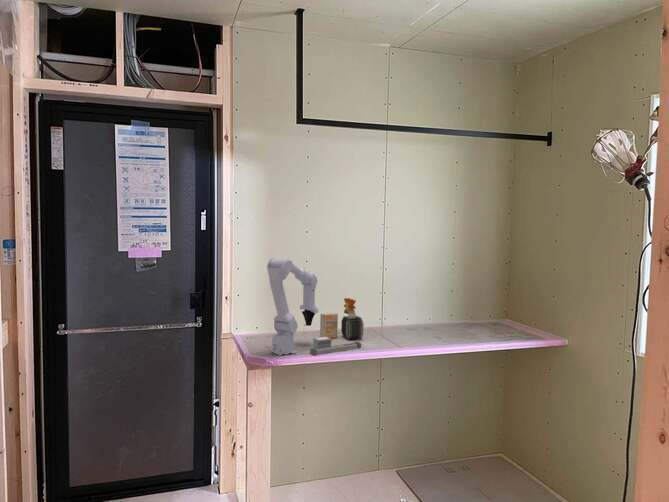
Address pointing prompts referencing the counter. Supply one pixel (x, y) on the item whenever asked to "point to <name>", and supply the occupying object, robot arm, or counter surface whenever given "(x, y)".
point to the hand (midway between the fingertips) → (308, 325)
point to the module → (321, 342)
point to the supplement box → (328, 325)
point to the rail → (335, 348)
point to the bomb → (351, 322)
